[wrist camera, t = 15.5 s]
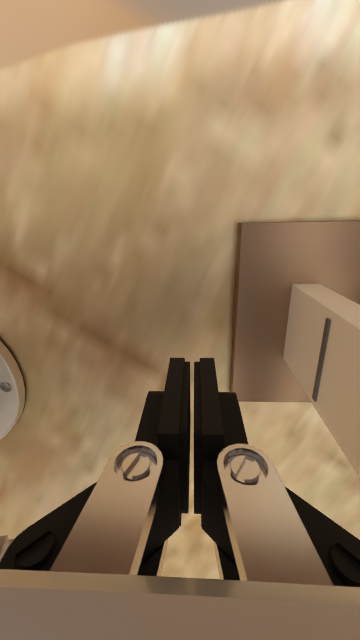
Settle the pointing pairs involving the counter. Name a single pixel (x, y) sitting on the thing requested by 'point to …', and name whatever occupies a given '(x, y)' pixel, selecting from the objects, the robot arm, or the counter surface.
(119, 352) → the counter surface
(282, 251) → the walnut board
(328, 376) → the domino
